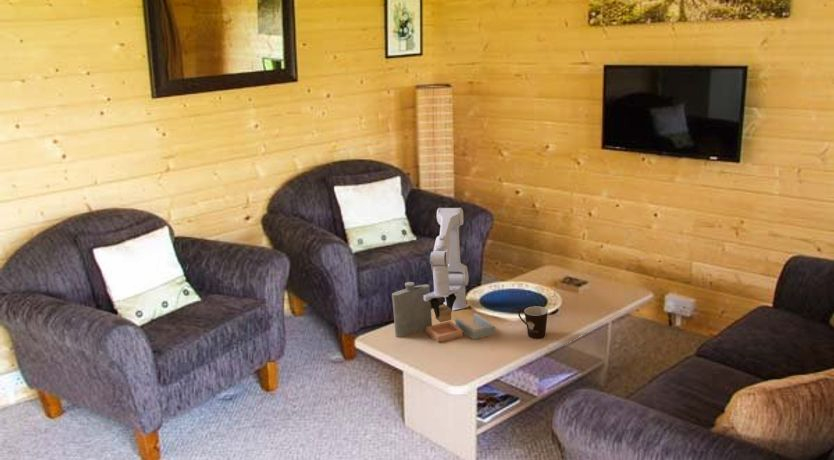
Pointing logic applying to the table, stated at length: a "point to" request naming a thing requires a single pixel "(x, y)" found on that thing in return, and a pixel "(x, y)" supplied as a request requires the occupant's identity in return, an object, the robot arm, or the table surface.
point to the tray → (444, 331)
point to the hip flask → (411, 309)
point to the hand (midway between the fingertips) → (443, 314)
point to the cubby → (474, 334)
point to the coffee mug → (535, 321)
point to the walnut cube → (444, 313)
